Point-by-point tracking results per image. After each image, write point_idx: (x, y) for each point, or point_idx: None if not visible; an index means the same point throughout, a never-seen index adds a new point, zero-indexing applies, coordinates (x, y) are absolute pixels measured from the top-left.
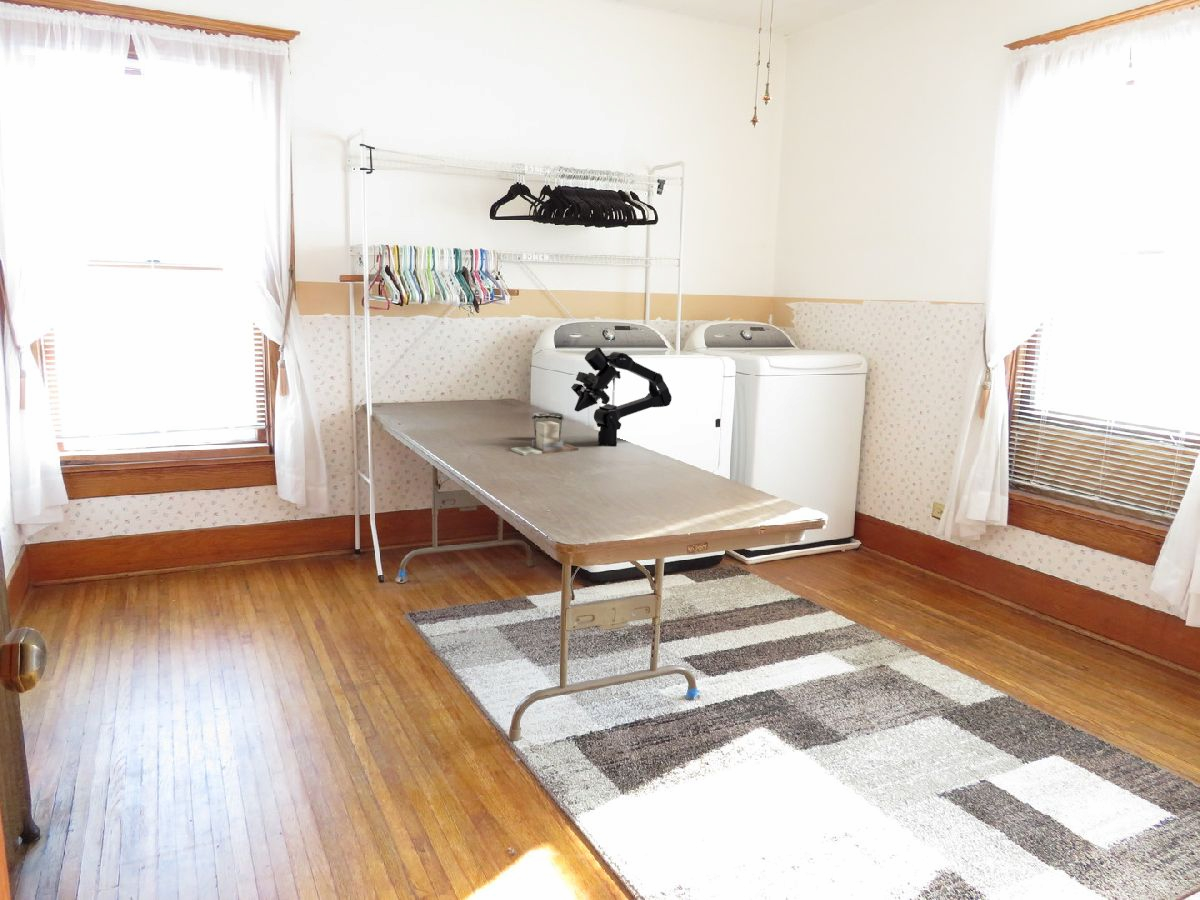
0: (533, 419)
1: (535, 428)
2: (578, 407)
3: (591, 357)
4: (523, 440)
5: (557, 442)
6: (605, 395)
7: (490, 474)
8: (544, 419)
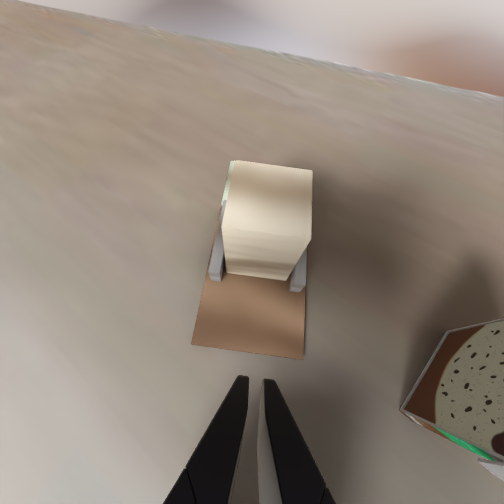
0: None
1: (490, 325)
2: (223, 401)
3: None
4: (444, 287)
5: (216, 250)
6: None
7: (126, 47)
8: None
